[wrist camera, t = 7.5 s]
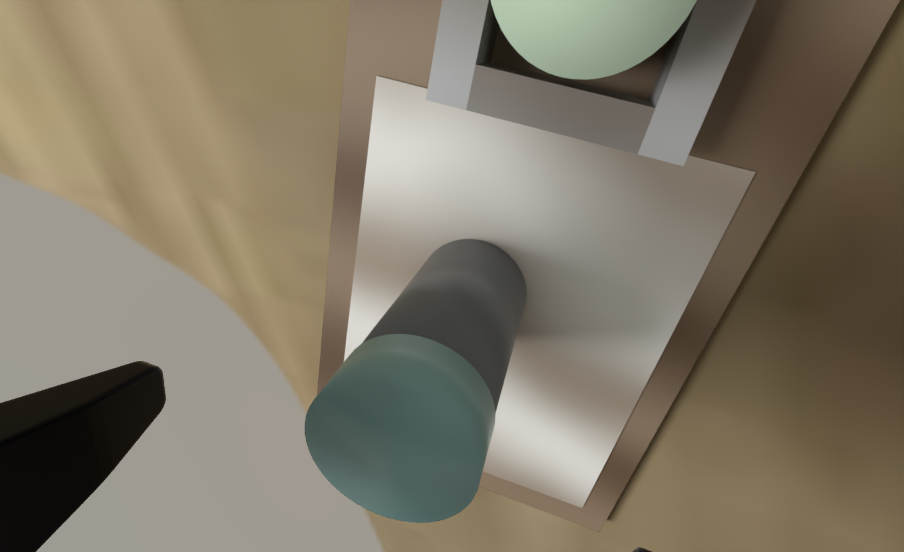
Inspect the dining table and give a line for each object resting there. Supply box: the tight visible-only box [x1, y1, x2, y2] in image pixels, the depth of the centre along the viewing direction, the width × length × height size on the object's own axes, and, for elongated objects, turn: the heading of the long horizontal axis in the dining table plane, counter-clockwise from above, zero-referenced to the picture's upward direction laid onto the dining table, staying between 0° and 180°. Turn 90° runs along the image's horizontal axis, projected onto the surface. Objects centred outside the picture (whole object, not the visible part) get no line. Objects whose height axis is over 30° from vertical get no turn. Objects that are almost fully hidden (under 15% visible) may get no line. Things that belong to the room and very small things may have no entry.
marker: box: [305, 239, 527, 523], centre depth 12 cm, size 4×4×7 cm
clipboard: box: [317, 0, 900, 532], centre depth 14 cm, size 20×12×2 cm, turn 169°
